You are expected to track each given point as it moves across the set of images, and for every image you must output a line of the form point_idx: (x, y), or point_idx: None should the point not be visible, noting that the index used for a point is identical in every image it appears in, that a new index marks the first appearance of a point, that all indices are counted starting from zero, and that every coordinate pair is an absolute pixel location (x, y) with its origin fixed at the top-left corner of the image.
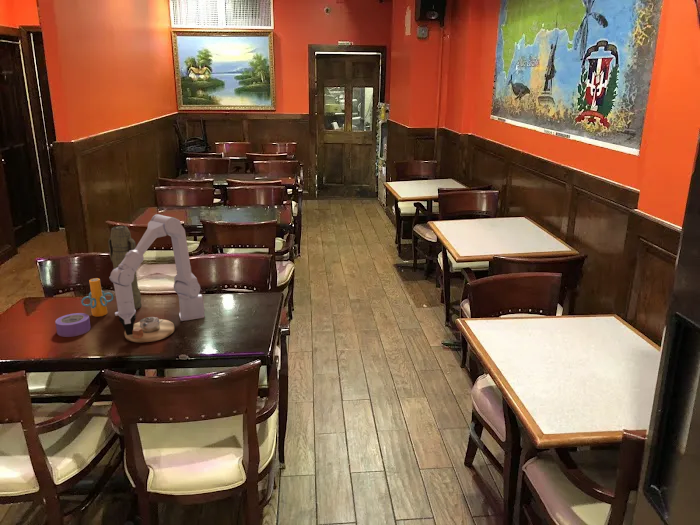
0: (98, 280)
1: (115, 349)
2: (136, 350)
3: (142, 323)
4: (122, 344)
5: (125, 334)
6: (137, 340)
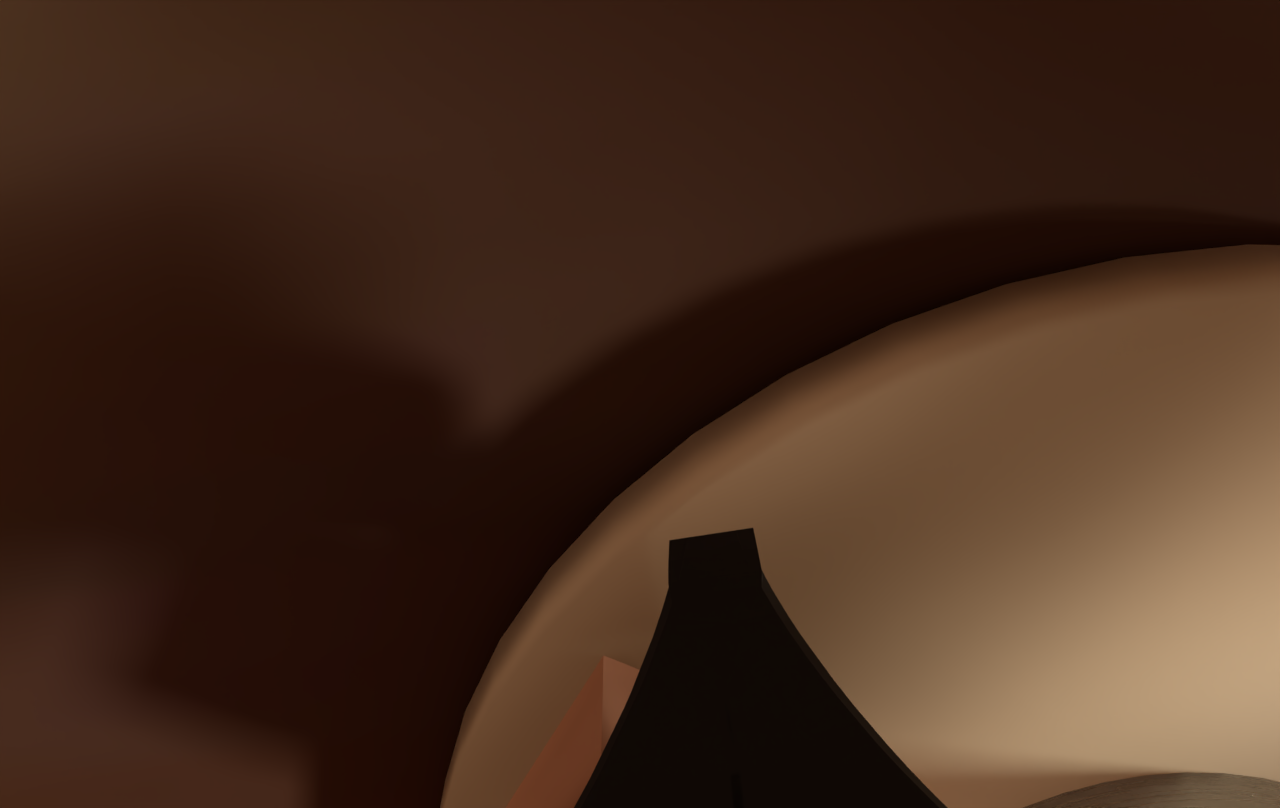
0: None
1: (77, 81)
2: (12, 695)
3: None
4: (477, 259)
5: (997, 371)
6: (464, 742)
